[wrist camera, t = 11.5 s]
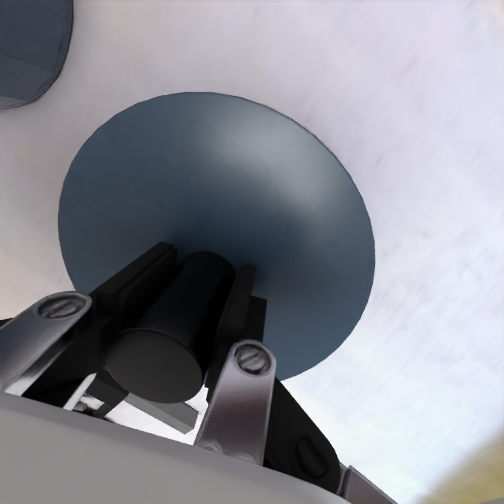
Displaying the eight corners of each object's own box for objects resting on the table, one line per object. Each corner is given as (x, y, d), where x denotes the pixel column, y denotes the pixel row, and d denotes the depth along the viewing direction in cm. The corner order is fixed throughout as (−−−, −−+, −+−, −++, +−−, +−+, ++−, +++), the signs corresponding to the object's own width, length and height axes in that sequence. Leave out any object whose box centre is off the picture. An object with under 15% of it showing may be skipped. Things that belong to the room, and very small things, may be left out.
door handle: (228, 414, 21) (65, 315, 17) (125, 477, 29) (-7, 417, 25) (234, 381, 24) (95, 289, 20) (138, 445, 32) (23, 387, 28)
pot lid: (86, 335, 15) (-31, 444, 9) (62, 56, 9) (-301, -101, 3) (306, 396, 15) (321, 545, 9) (433, 150, 9) (698, 149, 3)
